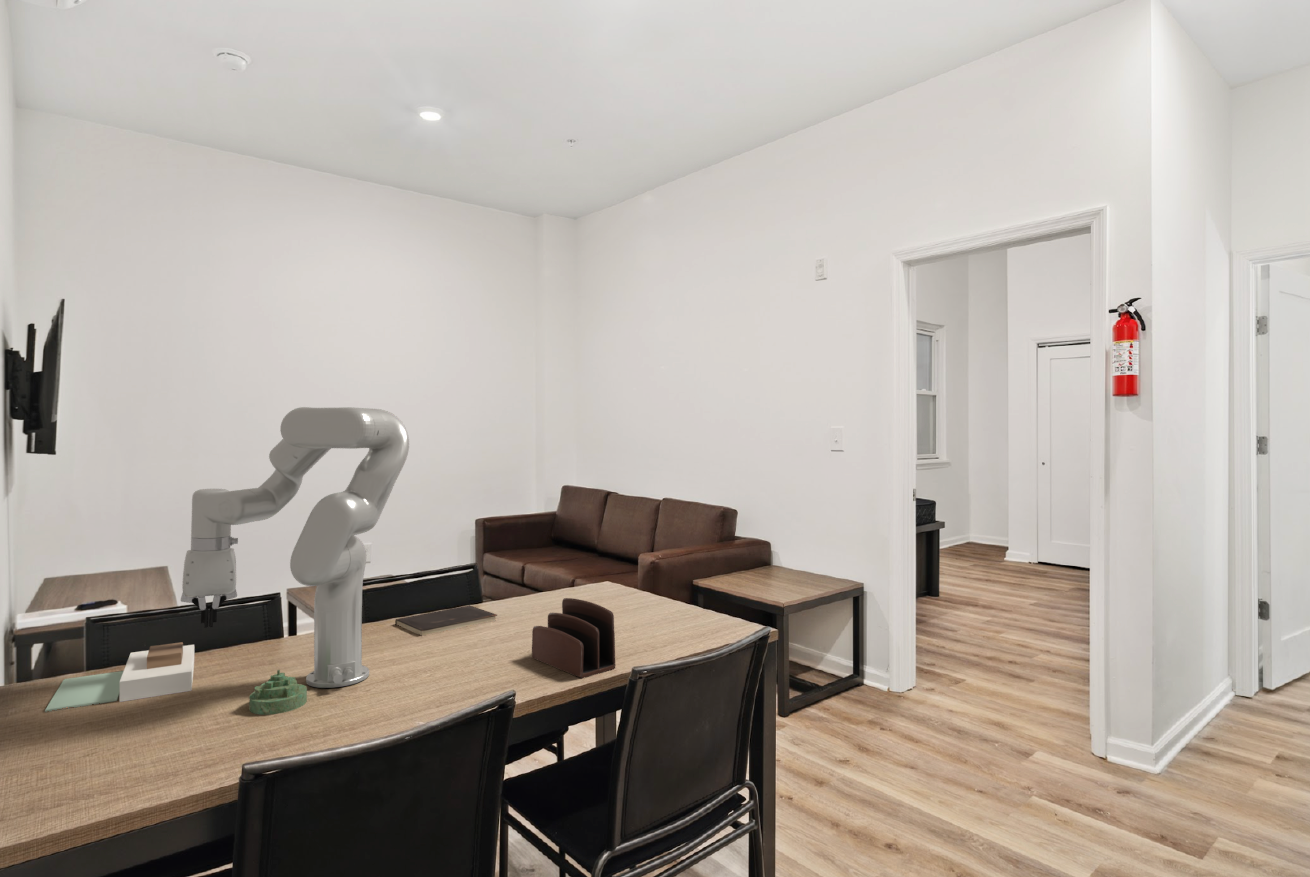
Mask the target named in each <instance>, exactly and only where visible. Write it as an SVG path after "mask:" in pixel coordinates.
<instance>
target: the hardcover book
mask: <svg viewBox="0 0 1310 877" xmlns="http://www.w3.org/2000/svg"><path fill="white" fill-rule="evenodd" d="M497 616H498V614H497V613H493V612H491V611H488V610H484V609H482V608H478V607H476V606H474V605H465V606H459V607H453V608H448V609H443V610H437V611H433V612H427V613H422V614H421V613H420V614H416V615H411V616H405V617H400V618H396V619H395V621H394V624H395V626H398V625H399V626H398V627H400V626H401V628H403V629H405V630H408V631H409V632H412V633H414V634H416V635H419V634H420V635H419V636H421V635H422V637H424V636H423V635H425V636H428V635H427V634H429V635H433V634H439V633H444V632H446V630H448V631H452V630H453V631H454V630H456V629H457V628H458V629H462V627H463V628H467V627H466V626H468V627H471V626H470V625H472V626H476V625H477V626H478V625H482V624H486V623H490V622H495V621H496V620H497ZM443 631H444V632H443Z"/></svg>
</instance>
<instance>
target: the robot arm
mask: <svg viewBox="0 0 1310 877" xmlns="http://www.w3.org/2000/svg"><path fill="white" fill-rule="evenodd" d="M279 432H280V435H281V438H282V439H281V440H280V441H279V442H277V444H276V445H275V446H274V447H273V448H272V449H271V450H270V452H269V456H268V457H269V458H268V459H269V461H270V463H271V465H272V467H273V468H274V469H275V470H274V471H273V473H272V474H271V475H270V476H269V477H268V478H267V479H266V480H265V481H264V482H263V483H262V484H261V485H259V486H258V487H255V488H246V489H235V490H228V489H225V488H202V489H197V490H194V492H193V493H192V499H191V521H190V522H191V528H190V529H191V530H190V531H191V534H190V549H189V550H186V553H185V557H184V562H183V563H184V564H183V571H182V572H183V573H182V584H181V585H182V589H181V590H182V593H181V597H180V602H181V603H190V604H193V605H194V606H196V607H197V608H198V609H199V610H200V624H204V626H203V627H204V629H207V628H213V627H214V625H213V624H214V623H217V622H218V621H217V619H218V618H217V616H218V614H217V613H218V608H219V607H220V606H221V605H222V604H223V603H224V602H226V601H229V600H231V599H235V598H237V596H238V593H237V588H236V587H237V563H236V562H237V561H236V559H237V558H236V553H235V549H234V548H233V547H232V546H233V545H238V542H239V539H238V538H239V537H233V536H231V535H232V526H237V525H238V526H239V525H244V524H248V523H253V522H260V521H264V520H268V519H271V518H272V517H274V516H275V515H276V514H278V513H279V512H280V511H281V510H283V508H284V507H285V506H286V505H288V504H289V502H291V501H292V500H293V498H295V496H296V495H297V494H298V492H299V490H300V488H301V485H302V484H303V483H302V482H303V478H304V477H305V475H306V474H307V473H308V472H309V471H310V470H311V469H312V468H313V466H314V465H316V464H317V463H318V462H319V461H320V460H321V459H322V458H323V457H324V456H325V455H326V454H327V453H328V452H330V450H331V449H349V450H350V449H355V450H356V449H368V452H367V454H366V455H365V456H364V457H363V459H362V460H361V461H360V462H359V464H358V466H357V467H356V468H355V471H354V473H353V475H352V477H351V479H350V482H349V483H348V485H347V487H346V488H345V490H343V491H341V492H333V493H331V494H327V495H326V496H324V497H323V498H321V499H320V500H319V501H318V502H317V503H316V504H315V505H314V507H312V510H311V511H310V513H309V515H308V517H307V520H306V521H305V524H304V526H303V529H302V531H301V532H300V535H299V537H298V538H297V540H296V541H297V542H296V543H295V546H294V548H293V549H292V550H293V551H292V553H291V556H290V562H289V566H290V567H289V568H290V572H291V575H292V577H293V578H294V580H295V581H297V583H299V584H301V585H302V586H306V587H316V588H315V593H314V600H313V601H314V602H313V604H314V605H313V607H314V608H313V609H314V610H313V616H314V617H313V622H314V623H313V624H314V626H313V629H314V631H313V632H314V633H313V638H314V640H313V642H314V644H313V648H314V649H313V656H314V657H313V659H314V660H313V661H314V662H313V663H314V664H313V671H311V672H309V673H308V674H307V675H306V677H305V683H306V684H307V685H308V686H310V687H313V688H318V689H319V688H321V689H332V688H333V689H334V688H340V687H346V686H351V685H354V684H358V683H360V682H362V681H364V680H366V679H367V678H368V677H369V675H370V668H369V667H368V666H365V665H363V662H362V660H363V657H362V656H363V653H362V652H363V650H362V649H363V645H362V642H363V640H362V639H363V638H362V636H363V632H362V631H363V629H362V627H363V624H362V622H363V618H362V617H363V607H362V606H363V585H364V584H363V582H364V575H365V568H366V563H367V551H366V550H367V549H366V547H365V545H364V543H363V541H362V540H361V539H360V538H359V537H357V535H360V534H363V533H364V534H365V533H367V532H369V531H370V530H372V529H374V527H375V526H376V525H377V523H378V522H379V519H380V517H381V515H382V513H383V510H384V508H385V506H386V504H387V503H388V499H389V497H390V495H391V493H392V492H393V488H394V486H395V483H397V480H398V477H399V476H400V473H401V471H402V470H403V467H404V465H405V463H406V460H407V458H408V455H409V452H410V451H409V449H410V438H409V434H408V430H407V428H406V427H405V424H404V423H403V421H402V420H401V419H400V418H399V417H398V416H397V415H395V414H394V413H392V412H390V411H388V410H384V409H379V408H370V407H369V408H368V407H367V408H366V407H365V408H364V407H310V406H309V407H308V406H307V407H306V406H303V407H301V406H300V407H297V408H294V409H292V410H291V411H289V412H288V413H287V414H285V416H284V417H283V419H282V421H281V423H280V431H279ZM209 596H211V597H212V596H213V599H212V603H211V604H210V607H208V604H207V602H206V597H209Z"/></svg>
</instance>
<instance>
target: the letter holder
mask: <svg viewBox="0 0 1310 877" xmlns="http://www.w3.org/2000/svg"><path fill="white" fill-rule="evenodd" d="M561 602H562V603H561V610H562V611H561V612H562V613H561V612H549V613H547V614H548V615H547V626H542V625H534V626H533V627H532V630H531V631H532V632H531V633H532V636H531V638H532V639H531V658H532V659H534V660H536V661H539V662H542V663H543V664H546V665H548V666H550V665H551V666H550V667H553V668H556V669H558V670H560V671H563V672H565V673H568V674H570V675H572V676H575V677H577V678H579V677H580V678H579V679H585V678H588V677H591V676H592V677H593V676H595V675H598V673H599V674H602V673H605V672H609V671H612V669H613V670H615V669H616V640H615V636H616V635H615V634H616V633H615V616H614V612H613V611H611V610H609V609H608V608H606V607H604V606H601V605H599V604H596V603H594V602H590V601H587V600H584V599H579V598H571V597H565V598H563V599H562V601H561ZM614 668H615V669H614ZM584 677H585V678H584Z"/></svg>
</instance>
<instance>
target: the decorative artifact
mask: <svg viewBox="0 0 1310 877" xmlns="http://www.w3.org/2000/svg"><path fill="white" fill-rule="evenodd" d="M276 671H277V672H276V673H275V674H273V675H270V678H269V679H268V681H265V682H263V683H262V684H261V685H258V686H257V685H256V686H254V691H253V692H252V693H251V694H250V695H249V696H248V698H249V700H248V701H249V703H248V704H249V707H248V708H249V709H248V710H249V712H250V713H251V714H255V715H261V716H262V715H263V716H264V715H265V716H269V715H277V714H284V713H288V712H291V711H295V710H297V709H299V708H302V707H303V706H304V705H305V704H306V703H307V699H308V697H307V696H308V688H307V685H304V684H301V683H298V680H297V679H296V677H295V676H287V675H286V673H285V672H281V670H280V669H277V670H276Z"/></svg>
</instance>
